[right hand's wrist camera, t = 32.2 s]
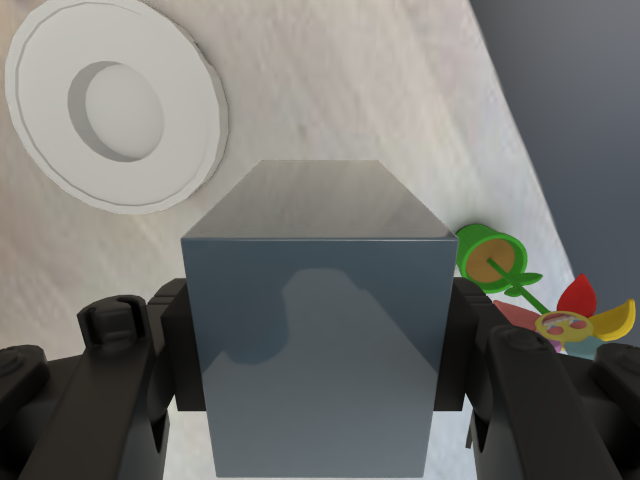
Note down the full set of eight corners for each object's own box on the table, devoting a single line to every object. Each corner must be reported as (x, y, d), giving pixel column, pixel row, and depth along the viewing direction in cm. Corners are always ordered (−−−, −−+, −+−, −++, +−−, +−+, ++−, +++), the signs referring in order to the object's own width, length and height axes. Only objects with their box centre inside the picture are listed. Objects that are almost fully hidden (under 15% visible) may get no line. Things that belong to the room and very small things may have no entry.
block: (371, 289, 19) (423, 478, 9) (268, 289, 19) (216, 478, 9) (378, 160, 16) (460, 238, 7) (261, 160, 16) (179, 238, 7)
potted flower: (500, 208, 47) (680, 313, 23) (508, 260, 49) (677, 400, 26) (430, 230, 48) (535, 350, 24) (442, 279, 50) (546, 430, 27)
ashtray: (220, 220, 47) (212, 230, 44) (42, 188, 46) (17, 196, 42) (238, 24, 39) (229, 16, 35) (22, -22, 38) (-11, -36, 34)
